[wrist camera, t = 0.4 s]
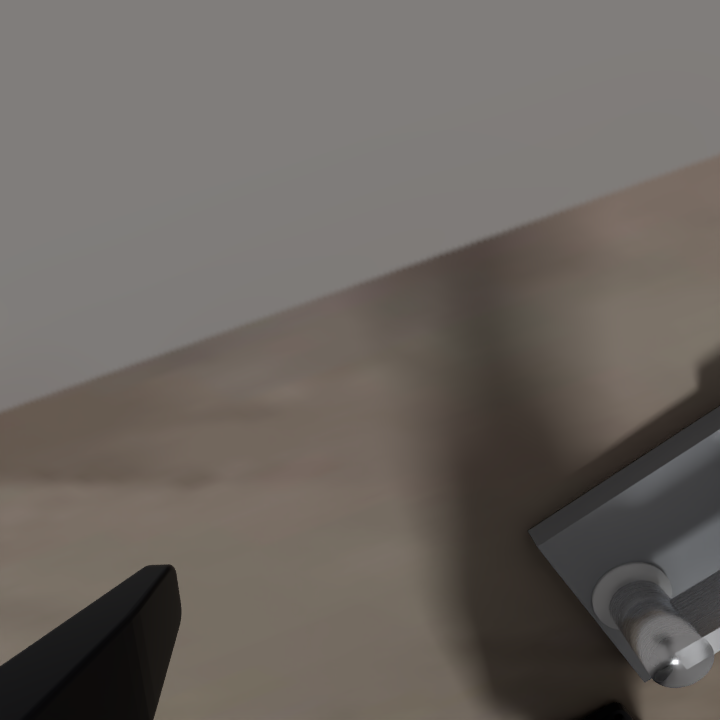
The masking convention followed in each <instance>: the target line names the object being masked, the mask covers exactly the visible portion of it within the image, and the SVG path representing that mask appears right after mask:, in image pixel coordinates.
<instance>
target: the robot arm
mask: <svg viewBox="0 0 720 720" xmlns="http://www.w3.org/2000/svg"><path fill="white" fill-rule="evenodd" d="M180 622H181V602H180V595H179V588H178V581H177V574H176V570H175V568H174V567H173V566H172V565H169V564H168V565H148V566H146V567H144V568H142V569H141V570H139V571H138V572H137V573H135V574H134V575H132V576H131V577H129V578H128V579H126V580H125V581H123V582H122V583H121V584H119V585H118V586H116V587H115V588H113V589H112V590H110V591H109V592H108V593H106V594H105V595H103V596H102V597H100V598H99V599H97V600H96V601H94V602H93V603H92V604H90V605H89V606H87V607H86V608H84V609H83V610H81V611H80V612H78V613H77V614H76V615H74V616H73V617H71V618H70V619H68V620H67V621H65V622H64V623H62V624H61V625H60V626H58V627H57V628H55V629H54V630H52V631H51V632H49V633H48V634H46V635H45V636H44V637H42V638H41V639H39V640H38V641H36V642H35V643H33V644H32V645H30V646H29V647H28V648H26V649H25V650H23V651H22V652H20V653H19V654H17V655H16V656H14V657H13V658H12V659H10V660H9V661H7V662H6V663H4V664H3V665H1V666H0V720H153V719H154V716H155V712H156V709H157V705H158V702H159V698H160V695H161V691H162V687H163V684H164V680H165V677H166V673H167V669H168V666H169V662H170V659H171V655H172V651H173V648H174V644H175V641H176V637H177V633H178V630H179V626H180ZM583 720H634V719H633V717H632V716H631V715H630V714H629V713H628V711H627V710H626V709H625V708H624V706H623V705H621V704H620V703H611V704H609V705H607V706H606V707H604V708H602V709H600V710H599V711H597V712H595V713H593V714H592V715H590V716H588V717H586V718H585V719H583Z"/></svg>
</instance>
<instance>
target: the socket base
mask: <svg viewBox="0 0 720 720" xmlns="http://www.w3.org/2000/svg"><path fill="white" fill-rule="evenodd" d="M528 532H529V534H530V536H531V537H532V539H533V541H534V542H535V544H536V546H537V547H538V549H539V550H540V551H541V552H542V554H543V555H544V556H545V557H546V559H547V560H548V561H549V563H550V564H551V565H552V566H553V568H554V569H555V570H556V571H557V573H558V574H559V575H560V576H561V578H562V579H563V580H564V581H565V583H566V584H567V585H568V587H569V588H570V589H571V590H572V592H573V593H574V594H575V595H576V597H577V598H578V599H579V600H580V602H581V603H582V604H583V605H584V607H585V608H586V609H587V611H588V612H589V613H590V614H591V616H592V617H593V618H594V619H595V621H596V622H597V623H598V624H599V626H600V627H601V628H602V629H603V631H604V632H605V633H606V634H607V636H608V637H609V638H610V640H611V641H612V642H613V643H614V645H615V646H616V647H617V648H618V650H619V651H620V652H621V653H622V655H623V656H624V657H625V658H626V660H627V661H628V662H629V664H630V665H631V666H632V667H633V669H634V670H635V671H636V672H637V674H638V675H639V676H640V677H641V679H642V680H643V681H644V682H646V681H648V680H650V679H652V678H651V676H650V675H649V673H648V672H647V670H646V669H645V667H644V666H643V664H642V663H641V661H640V660H639V658H638V657H637V655H636V654H635V652H634V651H633V649H632V648H631V646H630V645H629V643H628V642H627V640H626V639H625V637H624V636H623V634H622V633H621V631H620V630H619V628H618V627H617V625H616V624H615V622H614V621H613V619H612V618H611V616H610V613H609V604H610V601H611V598H612V596H613V595H614V594H615V592H616V591H617V590H618V589H620V588H621V587H622V586H624V585H626V584H628V583H630V582H634V581H640V580H645V581H651V582H654V583H656V584H658V585H659V586H660V587H661V588H662V589H663V590H664V591H665V592H666V594H667V595H668V596H669V597H670V598H671V599H672V598H674V597H675V596H677V595H679V594H680V593H682V592H684V591H685V590H687V589H689V588H690V587H692V586H694V585H695V584H697V583H699V582H700V581H702V580H704V579H705V578H707V577H709V576H710V575H712V574H714V573H715V572H717V571H719V570H720V406H719V407H717V408H716V409H714V410H713V411H711V412H710V413H708V414H706V415H705V416H703V417H702V418H700V419H699V420H697V421H696V422H694V423H693V424H691V425H690V426H688V427H687V428H685V429H683V430H682V431H680V432H679V433H677V434H676V435H674V436H673V437H671V438H670V439H668V440H667V441H665V442H664V443H662V444H660V445H659V446H657V447H656V448H654V449H653V450H651V451H650V452H648V453H647V454H645V455H644V456H642V457H641V458H639V459H637V460H636V461H634V462H633V463H631V464H630V465H628V466H627V467H625V468H624V469H622V470H621V471H619V472H617V473H616V474H614V475H613V476H611V477H610V478H608V479H607V480H605V481H604V482H602V483H601V484H599V485H598V486H596V487H594V488H593V489H591V490H590V491H588V492H587V493H585V494H584V495H582V496H581V497H579V498H578V499H576V500H575V501H573V502H571V503H570V504H568V505H567V506H565V507H564V508H562V509H561V510H559V511H558V512H556V513H555V514H553V515H551V516H550V517H548V518H547V519H545V520H544V521H542V522H541V523H539V524H538V525H536V526H535V527H533V528H532V529H530V530H528Z"/></svg>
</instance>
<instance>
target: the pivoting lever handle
mask: <svg viewBox="0 0 720 720" xmlns="http://www.w3.org/2000/svg"><path fill="white" fill-rule="evenodd" d="M609 613H610V616H611V618H612V619H613V621H614V622H615V624H616V625H617V627H618V628H619V630H620V631H621V633H622V634H623V636H624V637H625V639H626V640H627V642H628V643H629V645H630V646H631V648H632V649H633V651H634V652H635V654H636V655H637V657H638V658H639V660H640V661H641V663H642V664H643V666H644V667H645V669H646V670H647V672H648V673H649V675H650V676H651V678H652V679H653V680H654V681H655V682H656V683H658V684H660V685H662V686H665V687H670V688H680V687H685V686H689V685H691V684H694V683H695V682H697V681H699V680H700V679H702V678H703V677H704V676H705V675H706V674H707V673H708V672H709V670H710V669H711V667H712V665H713V661H714V654H715V653H717V652H718V651H720V570H719V571H717V572H715V573H714V574H712V575H710V576H709V577H707V578H705V579H704V580H702V581H700V582H699V583H697V584H695V585H694V586H692V587H690V588H689V589H687V590H685V591H684V592H682V593H680V594H679V595H677V596H675V597H674V598H672V599H671V598H670V597H669V596H668V595H667V594H666V592H665V591H664V590H663V589H662V588H661V587H660V586H659V585H658V584H656V583H654V582H651V581H645V580H640V581H634V582H630V583H628V584H626V585H624V586H622V587H621V588H620V589H618V590H617V591H616V592H615V594H614V595H613V596H612V598H611V601H610V604H609Z"/></svg>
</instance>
